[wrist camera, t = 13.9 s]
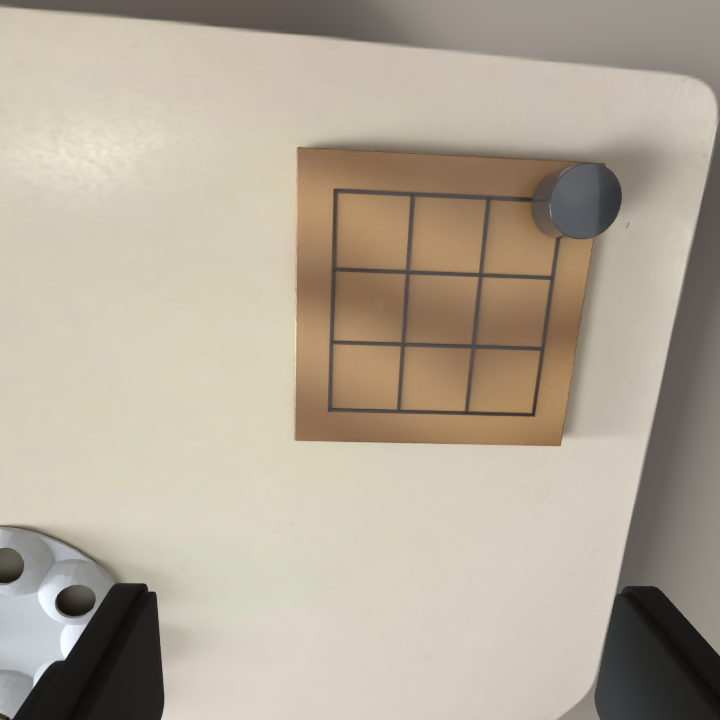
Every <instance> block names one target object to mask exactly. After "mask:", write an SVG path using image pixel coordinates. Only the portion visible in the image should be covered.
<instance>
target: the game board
mask: <svg viewBox="0 0 720 720" xmlns="http://www.w3.org/2000/svg"><path fill="white" fill-rule="evenodd" d="M581 163H591V162H572V161H552V160H533V159H514V158H495V157H476V156H456V155H437V154H418V153H399V152H380V151H360V150H341V149H322V148H303V147H298V148H297V190H296V313H295V435H294V440H295V441H337V442H385V443H433V444H482V445H530V446H561V440H562V433H563V427H564V421H565V415H566V408H567V402H568V396H569V389H570V383H571V377H572V371H573V364H574V358H575V352H576V346H577V339H578V333H579V327H580V320H581V314H582V308H583V302H584V295H585V289H586V283H587V276H588V270H589V264H590V258H591V251H592V245H593V239H594V237H593V238H589V239H557V238H552V237H549V236H547V235H545V234H544V233H543V232H541V231H540V230H539V229H538V227H537V226H536V224H535V223H534V220H533V217H532V213H531V202H532V197H533V194H534V191H535V189H536V188H537V186H538V184H539V183H540V182H541V181H542V180H543V179H544V178H545V177H546V176H547V175H549V174H550V173H552V172H554V171H557V170H560V169H563V168H567V167H571V166H574V165H578V164H581ZM597 164H601V165H603V166H605V163H597Z"/></svg>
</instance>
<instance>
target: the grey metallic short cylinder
mask: <svg viewBox="0 0 720 720" xmlns="http://www.w3.org/2000/svg"><path fill="white" fill-rule="evenodd" d="M621 200H622V193H621V187H620V184H619V181H618V179H617V178H616V176H615V175H614V173H613V172H612V171H611V170H609V169H608V168H607V167H605V166H603V165H601V164H597V163H581V164H578V165H574V166H571V167H567V168H563V169H560V170H557V171H554V172H552V173H550V174H549V175H547V176H546V177H545V178H544V179H543V180H542V181H541V182H540V183H539V184H538V186H537V188H536V189H535V191H534V194H533V197H532V202H531V213H532V217H533V220H534V223H535V224H536V226H537V227H538V229H539V230H540V231H541V232H543V233H544V234H545V235H547V236H549V237H552V238H557V239H589V238H593V237H595V236H597V235H599V234H601V233H603V232H604V231H605V230H606V229H607V228H608V227H609V226H610V225H611V224H612V223H613V222H614V220H615V218H616V217H617V215H618V212H619V210H620V206H621Z"/></svg>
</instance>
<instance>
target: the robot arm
mask: <svg viewBox="0 0 720 720" xmlns="http://www.w3.org/2000/svg"><path fill="white" fill-rule="evenodd" d="M595 705H596V709H597V712H598V715H599V717H600V719H601V720H720V656H719V655H718V654H717V652H715V650H714V649H713V648H712V647H711V646H710V645H709V644H708V642H707V641H706V640H705V639H704V638H703V637H702V636H701V635H700V634H699V632H698V631H697V630H696V629H695V628H694V627H693V626H692V625H691V624H690V622H689V621H688V620H687V619H686V618H685V617H684V616H683V615H682V614H681V612H680V611H679V610H678V609H677V608H676V607H675V606H674V605H673V603H671V601H670V600H669V599H668V598H667V597H666V596H665V595H664V594H663V593H662V591H661V590H659V589H658V588H657V587H654V586H627V587H625V588H624V589H623V590H622V593H621V594H617V595H616V597H615V600H614V605H613V609H612V614H611V619H610V624H609V629H608V633H607V638H606V643H605V648H604V653H603V657H602V662H601V667H600V672H599V677H598V681H597V687H596V691H595ZM163 708H164V686H163V673H162V660H161V647H160V634H159V621H158V608H157V596H156V593H155V592H148V587H147V585H146V584H140V583H116V584H114V585H113V586H112V587H111V588H110V590H109V591H108V593H107V595H106V596H105V598H104V599H103V601H102V602H101V604H100V605H99V607H98V609H97V610H96V612H95V613H94V615H93V616H92V618H91V620H90V621H89V623H88V624H87V626H86V627H85V629H84V631H83V632H82V634H81V635H80V637H79V638H78V640H77V642H76V643H75V645H74V646H73V648H72V649H71V651H70V652H69V654H68V656H67V657H66V659H65V660H59V661H55V662H53V663H52V664H51V665H49V667H48V668H47V669H46V670H45V671H44V673H43V674H42V676H41V677H40V679H39V680H38V682H37V683H36V685H35V686H34V688H33V689H32V691H31V692H30V694H29V695H28V697H27V698H26V700H25V701H24V702H23V704H22V705H21V707H20V708H19V710H18V711H17V713H16V714H15V716H14V717H13V719H12V720H161V717H162V713H163Z"/></svg>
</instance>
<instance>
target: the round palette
mask: <svg viewBox="0 0 720 720" xmlns="http://www.w3.org/2000/svg"><path fill="white" fill-rule="evenodd" d="M0 548H11V549H14V550H16V551H17V552H18V553H19V554H20V556H21V557H22V559H23V561H24V570H23V573H22V575H21V577H20V578H19V579H17V580H16V581H13V582H11V583H0V713H2V714H4V715H6V716H8V717H9V718H10V719H11V720H12V719H13V717H14V716H15V714H16V713H17V711H18V710H19V708H20V707H21V705H22V704H23V702H24V701H25V700H26V698H27V697H28V695H29V694H30V692H31V691H32V689H33V688H34V686H35V685H36V683H37V682H38V680H39V679H40V677H41V676H42V674H43V673H44V671H45V670H46V669H47V668H48V667H49V665H51V664H52V663H53V662H55V661H59V660H65V659H66V657H67V656H68V654H69V652H70V651H71V649H72V648H73V646H74V645H75V643H76V642H77V640H78V638H79V637H80V635H81V634H82V632H83V631H84V629H85V627H86V626H87V624H88V623H89V621H90V620H91V618H92V616H93V615H94V613H95V612H96V610H97V609H98V607H99V605H100V604H101V602H102V601H103V599H104V598H105V596H106V595H107V593H108V591H109V590H110V588H111V587H112V586H113V585H114V584H116V583H115V582H114V580H113V579H112V578H111V577H110V576H109V575H108V573H107V572H106V571H105V570H104V569H103V568H102V567H101V566H99V565H98V564H97V563H96V562H95V561H94V560H92V559H90V558H88V557H87V556H85V555H84V554H83V553H81V552H80V551H78V550H77V549H75V548H73V547H71V546H69V545H67V544H65V543H63V542H61V541H58V540H56V539H53V538H51V537H48V536H46V535H43V534H40V533H38V532H34V531H30V530H26V529H20V528H12V527H0ZM72 585H83V586H86V587H88V588H90V589H91V590H92V591H93V592H94V594H95V598H96V602H95V605H94V607H93V609H92V610H91V611H89V612H88V613H86V614H84V615H81V616H69V615H66V614H64V613H62V612H61V611H60V610H59V609H58V607H57V603H56V599H57V596H58V594H59V592H60V591H62V590H63V589H64V588H67V587H69V586H72Z"/></svg>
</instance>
